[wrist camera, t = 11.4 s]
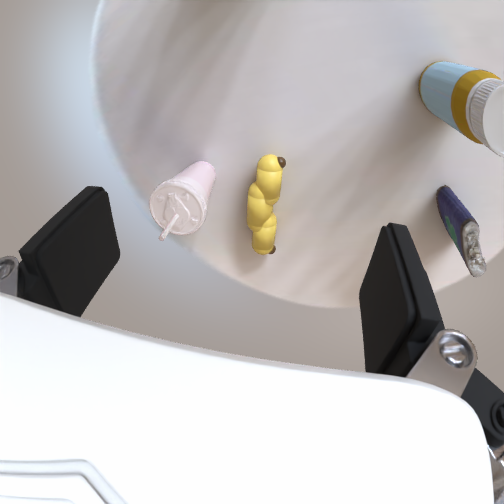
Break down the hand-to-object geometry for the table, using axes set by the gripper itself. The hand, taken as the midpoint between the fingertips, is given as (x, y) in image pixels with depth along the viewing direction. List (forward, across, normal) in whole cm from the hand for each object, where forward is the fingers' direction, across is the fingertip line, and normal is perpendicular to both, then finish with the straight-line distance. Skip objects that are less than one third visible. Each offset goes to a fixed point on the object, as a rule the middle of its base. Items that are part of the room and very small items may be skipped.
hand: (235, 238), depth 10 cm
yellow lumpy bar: (+28, +2, +14) cm, 32 cm away
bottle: (+28, -18, -5) cm, 34 cm away
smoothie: (+28, +10, +11) cm, 32 cm away
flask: (+28, -24, +11) cm, 39 cm away
